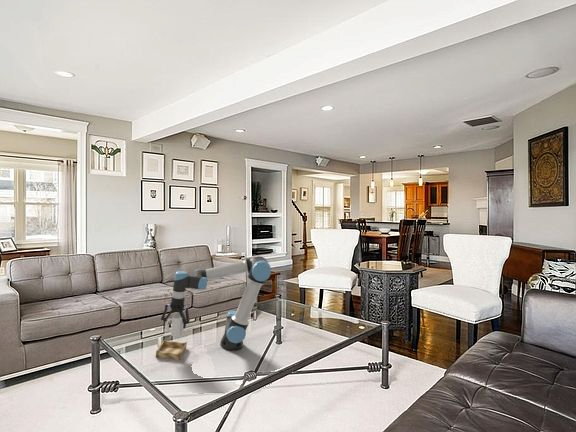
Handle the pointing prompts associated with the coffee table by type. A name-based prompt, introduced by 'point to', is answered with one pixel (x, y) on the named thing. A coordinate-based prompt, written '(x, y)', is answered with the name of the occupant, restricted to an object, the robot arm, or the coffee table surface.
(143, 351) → the coffee table surface
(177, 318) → the mug
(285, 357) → the coffee table surface
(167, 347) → the crate
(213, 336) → the coffee table surface
